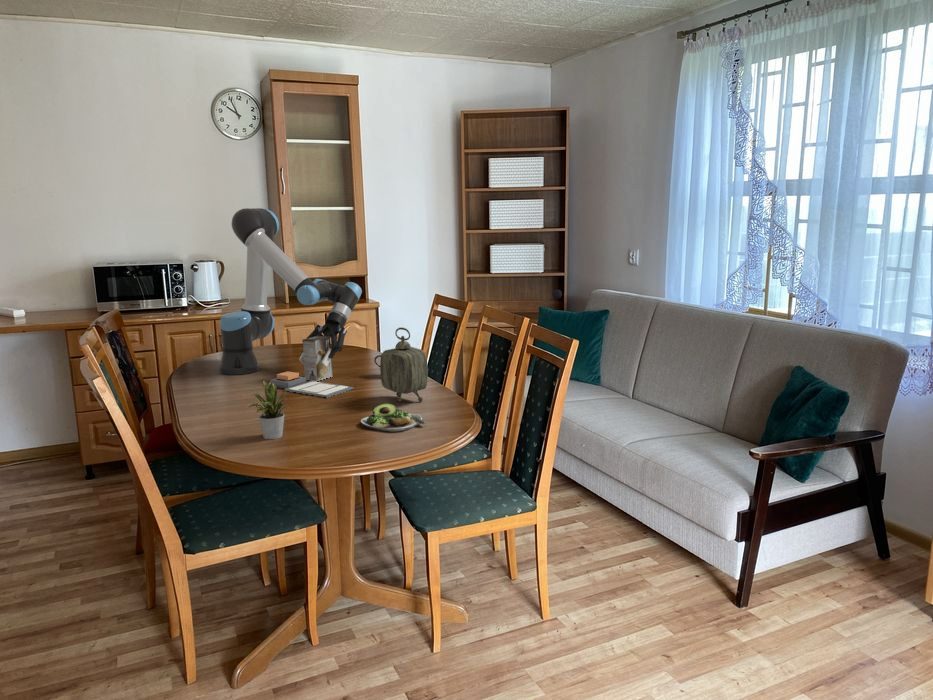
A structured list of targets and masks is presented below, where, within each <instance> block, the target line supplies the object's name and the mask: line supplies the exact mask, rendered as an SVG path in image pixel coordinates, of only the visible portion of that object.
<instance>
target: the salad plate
mask: <svg viewBox="0 0 933 700" xmlns="http://www.w3.org/2000/svg"><path fill="white" fill-rule="evenodd" d="M359 423H360V425H361V426H362V427H363V428H365V429H368V430H375V431H380V430H381V431H382V432H390V433H391V432H404V431H408V430H411V429H413V428H416V427H417V426H419V425H424V424H426V423H427V422H426V421H425V420H423V417H422V416H421V414H418V413H410V412H408V411H405V410H402V409H398V408H397V407H396V406H395V404H392V403H382V404H378V405H377V406H375V407H374V408H373V410H372V414H371V415H368V416H366V417H363V418H361V419H360V421H359ZM389 426H390V427H389ZM397 426H398V427H397ZM400 426H401V427H400Z"/></svg>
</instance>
